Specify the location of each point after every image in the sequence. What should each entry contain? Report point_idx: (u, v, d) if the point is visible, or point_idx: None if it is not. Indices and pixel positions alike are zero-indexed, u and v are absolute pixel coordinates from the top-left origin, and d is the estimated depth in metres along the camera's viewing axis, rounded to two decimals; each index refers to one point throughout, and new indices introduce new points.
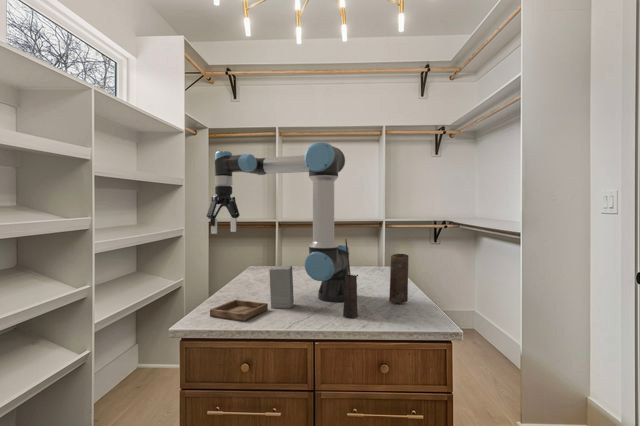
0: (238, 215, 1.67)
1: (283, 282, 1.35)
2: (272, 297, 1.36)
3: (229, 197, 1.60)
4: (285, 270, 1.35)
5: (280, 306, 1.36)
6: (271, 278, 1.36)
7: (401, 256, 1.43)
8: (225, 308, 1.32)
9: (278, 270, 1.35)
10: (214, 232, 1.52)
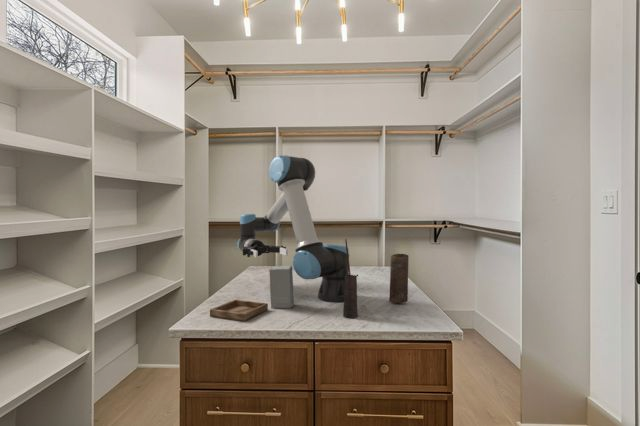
0: (284, 247, 1.58)
1: (283, 282, 1.35)
2: (272, 297, 1.36)
3: None
4: (285, 270, 1.35)
5: (280, 306, 1.36)
6: (271, 278, 1.36)
7: (401, 256, 1.43)
8: (225, 308, 1.32)
9: (278, 270, 1.35)
10: (255, 253, 1.43)
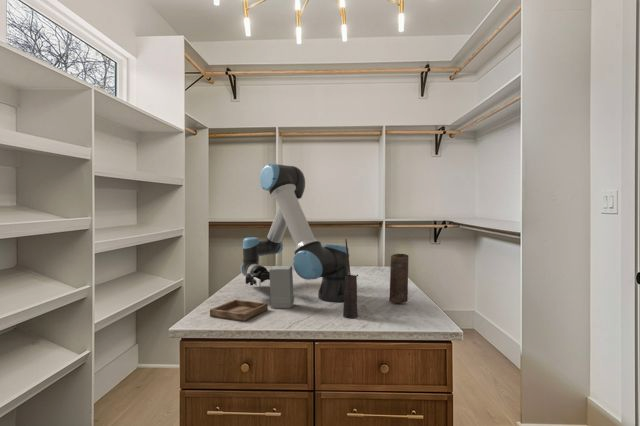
0: None
1: (283, 282, 1.35)
2: (272, 297, 1.36)
3: None
4: (285, 270, 1.35)
5: (280, 306, 1.36)
6: (271, 278, 1.36)
7: (401, 256, 1.43)
8: (225, 308, 1.32)
9: (278, 270, 1.35)
10: (258, 282, 1.40)
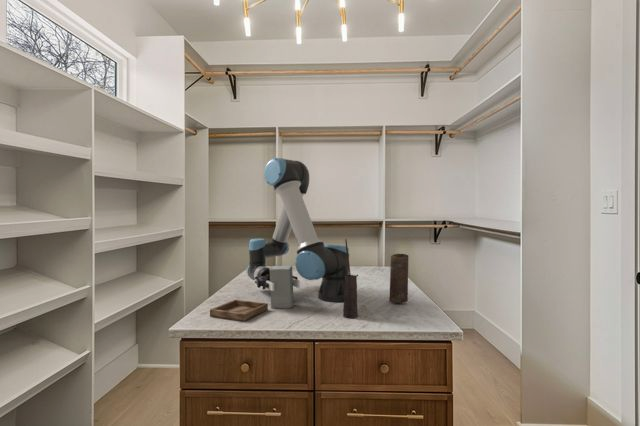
0: (295, 277, 1.45)
1: (284, 282, 1.35)
2: (272, 297, 1.36)
3: None
4: (285, 270, 1.35)
5: (280, 306, 1.36)
6: (271, 278, 1.36)
7: (401, 256, 1.43)
8: (225, 308, 1.32)
9: (278, 270, 1.35)
10: (271, 285, 1.32)
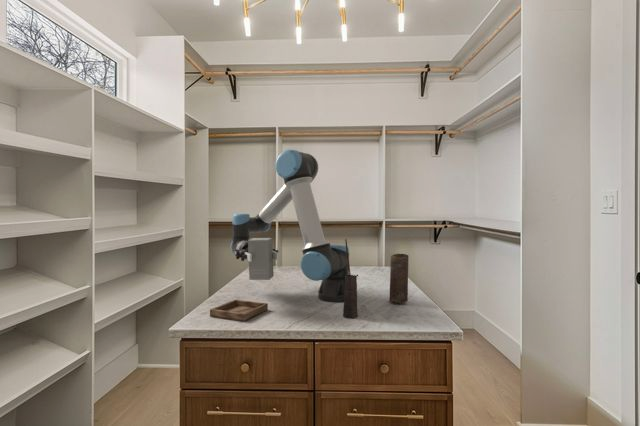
0: (276, 250, 1.42)
1: (262, 253, 1.32)
2: (250, 269, 1.33)
3: None
4: (264, 241, 1.32)
5: (258, 278, 1.33)
6: (249, 249, 1.33)
7: (401, 256, 1.43)
8: (225, 308, 1.32)
9: (257, 241, 1.32)
10: (249, 256, 1.30)
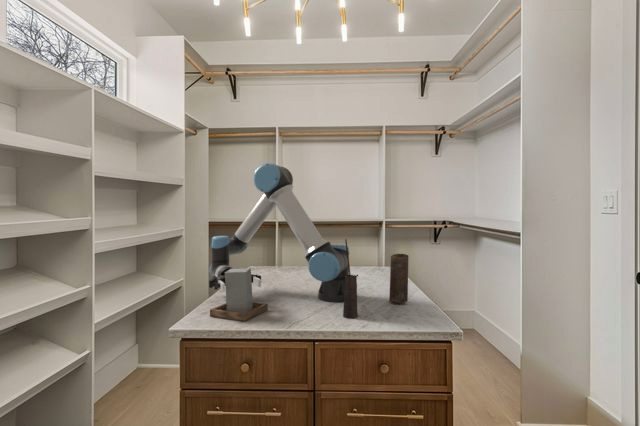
0: (259, 276, 1.38)
1: (240, 286, 1.26)
2: (228, 302, 1.27)
3: None
4: (241, 273, 1.26)
5: None
6: (227, 282, 1.26)
7: (401, 256, 1.43)
8: (225, 308, 1.32)
9: (234, 273, 1.26)
10: (222, 285, 1.24)
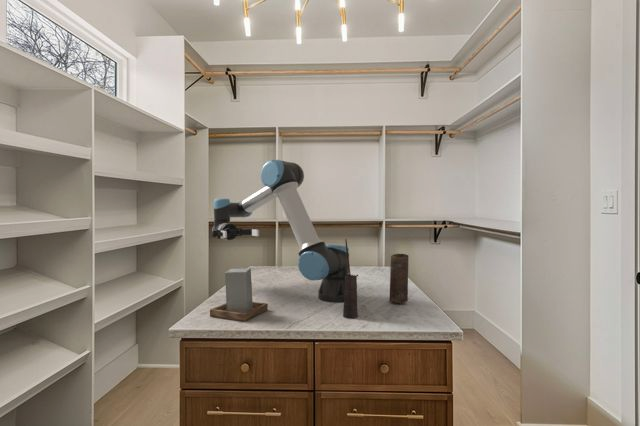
0: (257, 229, 1.55)
1: (240, 286, 1.26)
2: (228, 302, 1.27)
3: None
4: (241, 273, 1.26)
5: None
6: (227, 282, 1.26)
7: (401, 256, 1.43)
8: (225, 308, 1.32)
9: (234, 273, 1.26)
10: (224, 233, 1.40)
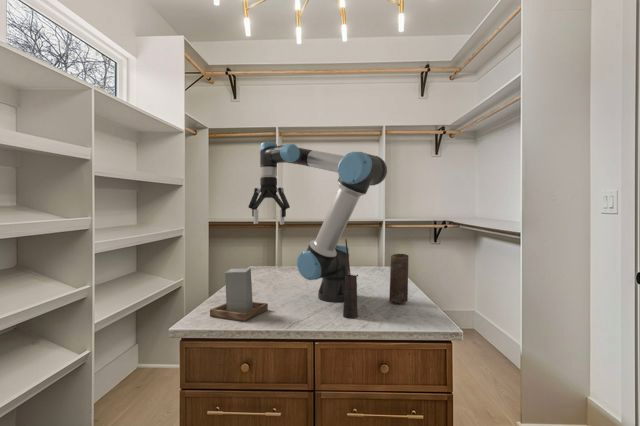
0: (285, 207, 1.53)
1: (240, 286, 1.26)
2: (228, 302, 1.27)
3: (272, 188, 1.56)
4: (241, 273, 1.26)
5: None
6: (227, 282, 1.26)
7: (401, 256, 1.43)
8: (225, 308, 1.32)
9: (234, 273, 1.26)
10: None
